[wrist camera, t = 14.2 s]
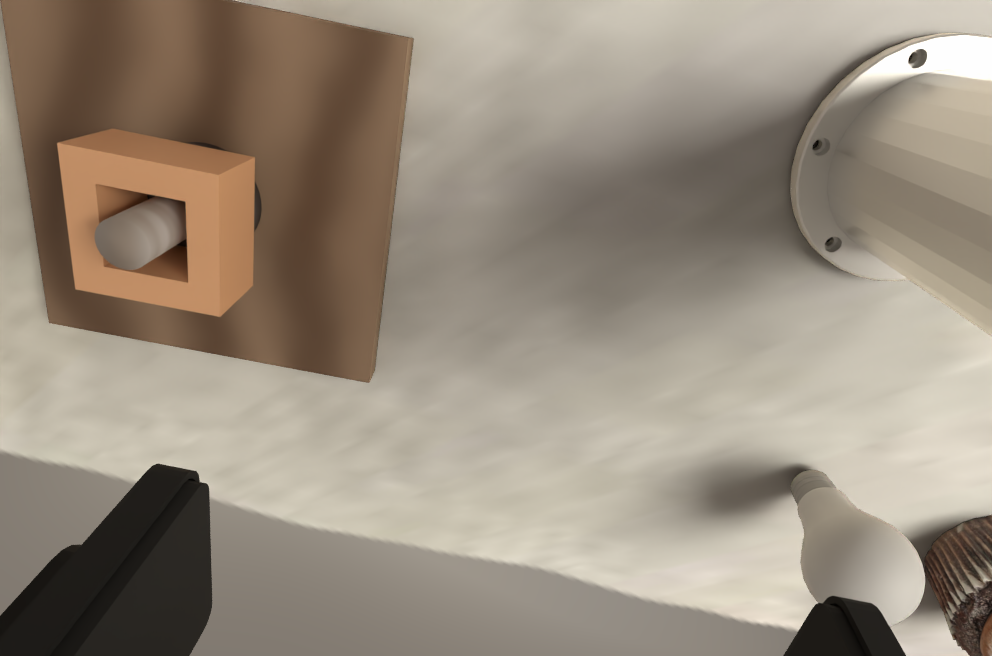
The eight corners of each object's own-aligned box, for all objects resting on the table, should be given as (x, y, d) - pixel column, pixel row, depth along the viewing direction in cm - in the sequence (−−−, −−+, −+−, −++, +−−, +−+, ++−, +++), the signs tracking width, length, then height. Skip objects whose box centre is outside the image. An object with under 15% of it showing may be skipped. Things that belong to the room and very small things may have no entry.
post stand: (413, 38, 32) (370, 44, 23) (374, 370, 41) (333, 463, 32) (16, -45, 31) (-179, -70, 22) (65, 312, 40) (-62, 392, 31)
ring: (254, 157, 31) (218, 174, 27) (252, 285, 34) (220, 316, 30) (112, 128, 30) (56, 142, 27) (124, 260, 34) (75, 289, 30)
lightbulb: (752, 510, 44) (816, 652, 34) (766, 440, 41) (840, 571, 32) (841, 511, 44) (931, 654, 34) (861, 440, 41) (965, 573, 31)
